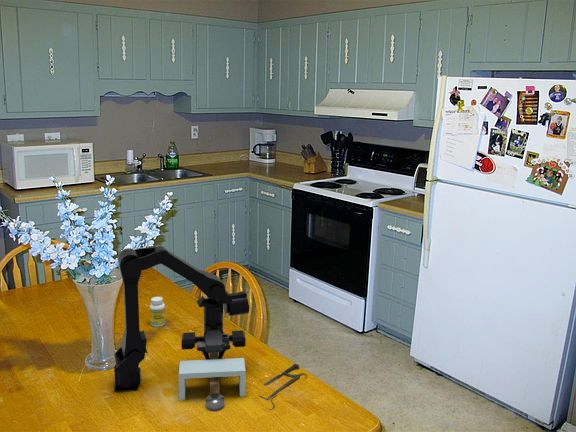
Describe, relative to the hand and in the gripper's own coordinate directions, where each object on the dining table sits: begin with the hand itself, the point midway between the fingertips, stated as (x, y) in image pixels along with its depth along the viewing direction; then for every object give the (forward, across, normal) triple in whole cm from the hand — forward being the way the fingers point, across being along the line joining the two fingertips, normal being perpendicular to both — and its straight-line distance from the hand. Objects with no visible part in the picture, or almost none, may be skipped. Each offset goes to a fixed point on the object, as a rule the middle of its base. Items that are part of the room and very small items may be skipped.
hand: (213, 365), depth 165 cm
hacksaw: (+2, +20, -11) cm, 23 cm away
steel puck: (+2, 0, -19) cm, 19 cm away
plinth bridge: (+1, 0, -12) cm, 12 cm away
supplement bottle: (+2, -19, +34) cm, 39 cm away
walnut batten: (+2, 0, -6) cm, 6 cm away
